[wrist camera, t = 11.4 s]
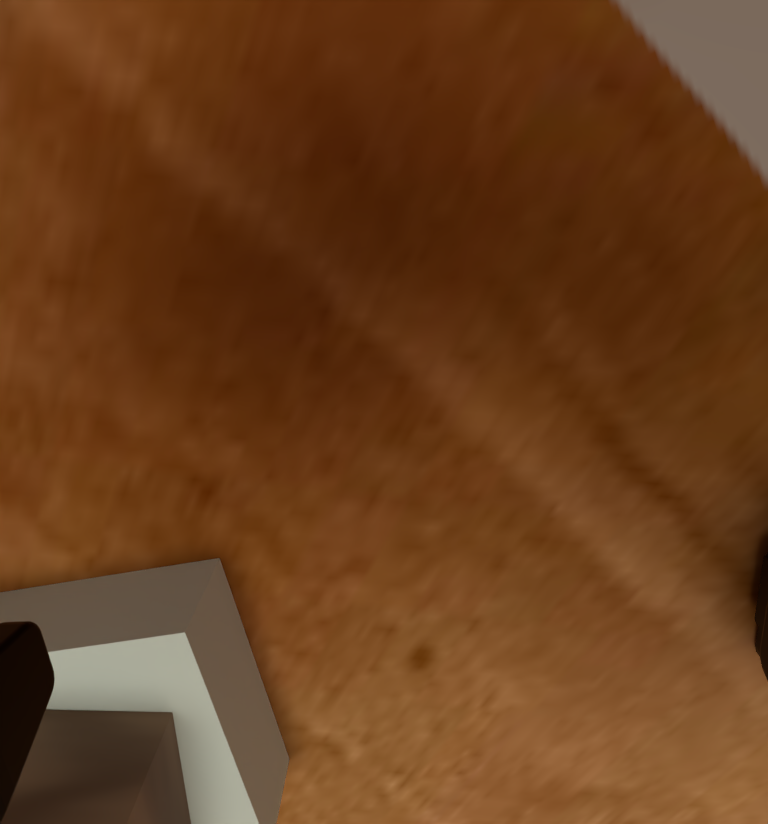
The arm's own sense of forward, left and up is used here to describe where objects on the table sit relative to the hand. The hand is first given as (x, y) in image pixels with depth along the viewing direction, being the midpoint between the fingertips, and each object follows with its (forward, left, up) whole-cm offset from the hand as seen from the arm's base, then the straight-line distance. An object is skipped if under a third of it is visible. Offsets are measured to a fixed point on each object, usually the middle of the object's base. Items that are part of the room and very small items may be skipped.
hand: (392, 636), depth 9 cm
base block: (+10, +12, -12) cm, 20 cm away
